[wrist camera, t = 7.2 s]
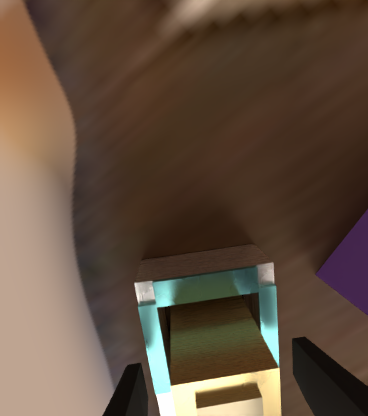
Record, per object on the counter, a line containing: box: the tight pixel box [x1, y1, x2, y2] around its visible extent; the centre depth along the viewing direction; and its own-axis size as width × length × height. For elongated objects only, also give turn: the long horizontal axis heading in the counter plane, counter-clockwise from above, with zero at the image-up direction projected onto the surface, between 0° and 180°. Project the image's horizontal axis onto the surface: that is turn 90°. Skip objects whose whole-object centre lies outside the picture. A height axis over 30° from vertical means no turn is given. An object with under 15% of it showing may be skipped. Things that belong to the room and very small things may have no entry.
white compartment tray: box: [134, 244, 279, 416], centre depth 14 cm, size 17×7×3 cm, turn 7°
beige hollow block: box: [171, 295, 281, 416], centre depth 11 cm, size 4×4×6 cm
